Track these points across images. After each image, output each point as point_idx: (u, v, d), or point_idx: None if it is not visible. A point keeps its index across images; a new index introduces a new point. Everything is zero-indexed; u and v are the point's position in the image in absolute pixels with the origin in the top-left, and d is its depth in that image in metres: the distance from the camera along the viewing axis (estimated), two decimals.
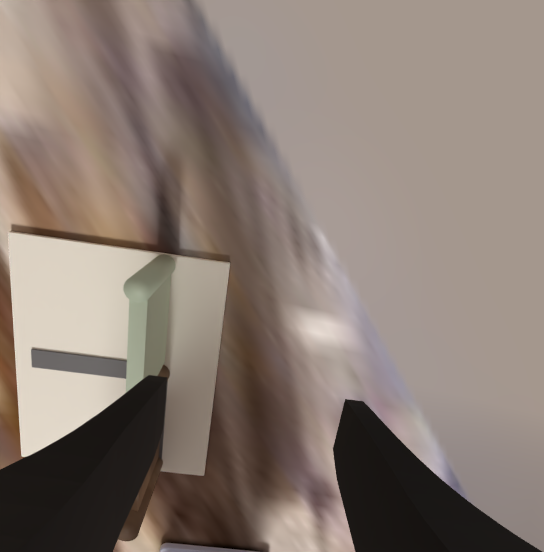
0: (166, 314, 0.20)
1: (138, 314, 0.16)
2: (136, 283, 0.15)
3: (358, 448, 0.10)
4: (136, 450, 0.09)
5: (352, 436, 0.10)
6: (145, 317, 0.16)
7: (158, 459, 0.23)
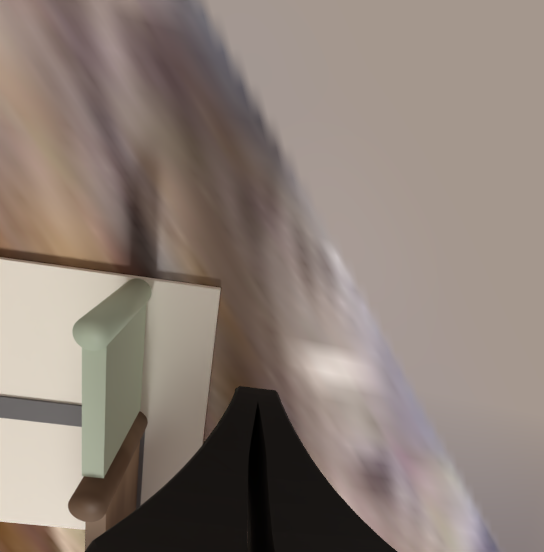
0: (140, 353, 0.16)
1: (94, 365, 0.12)
2: (89, 325, 0.11)
3: (256, 436, 0.10)
4: None
5: (255, 425, 0.10)
6: (104, 368, 0.12)
7: None
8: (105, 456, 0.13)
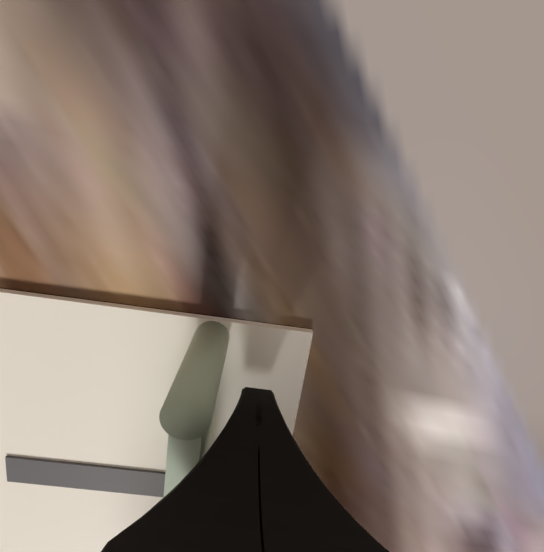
0: (214, 412, 0.13)
1: (184, 455, 0.09)
2: (183, 408, 0.08)
3: None
4: None
5: None
6: (197, 459, 0.09)
7: None
8: None
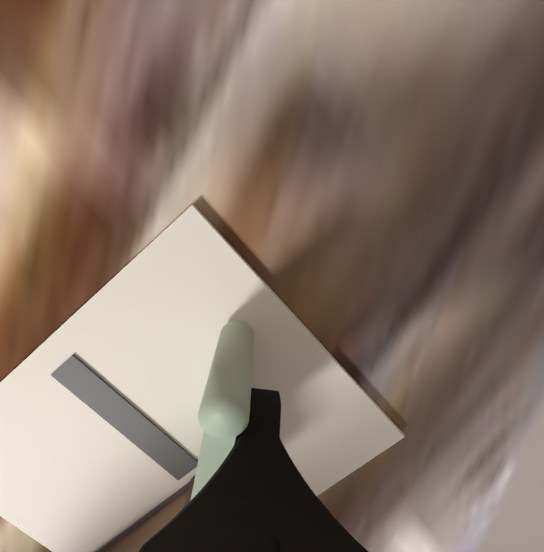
0: None
1: (217, 453, 0.09)
2: (223, 406, 0.08)
3: None
4: None
5: None
6: None
7: None
8: None
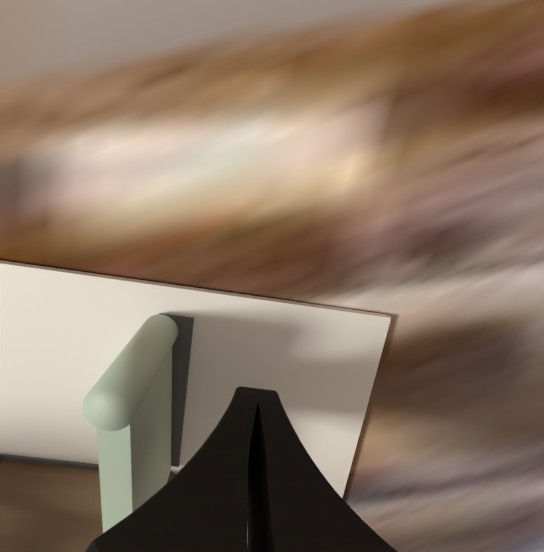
0: (168, 406, 0.13)
1: (115, 447, 0.09)
2: (105, 398, 0.08)
3: (256, 436, 0.10)
4: None
5: (255, 425, 0.10)
6: (128, 450, 0.09)
7: None
8: None
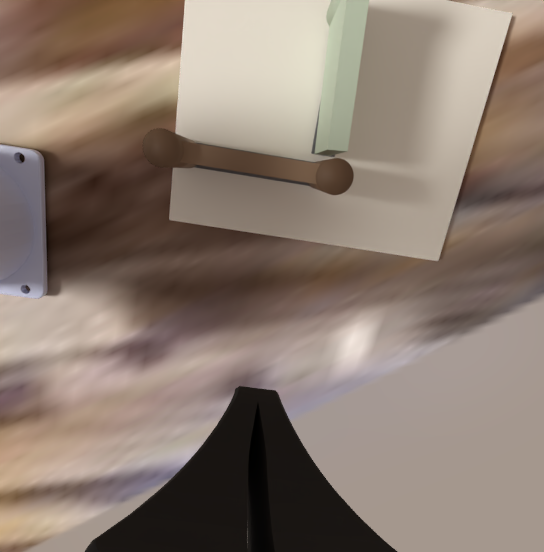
0: None
1: (357, 9, 0.13)
2: None
3: (256, 436, 0.10)
4: None
5: (255, 425, 0.10)
6: (366, 13, 0.13)
7: (196, 164, 0.18)
8: None
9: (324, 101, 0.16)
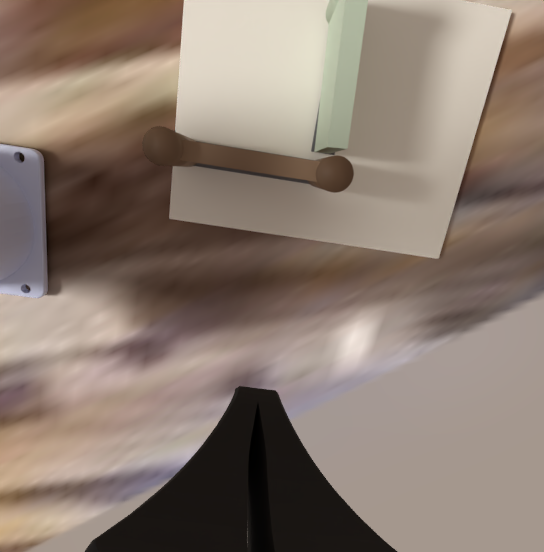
0: None
1: (356, 6, 0.12)
2: None
3: (256, 436, 0.10)
4: None
5: (255, 425, 0.10)
6: (365, 10, 0.13)
7: (196, 163, 0.18)
8: (349, 125, 0.14)
9: (324, 99, 0.16)
